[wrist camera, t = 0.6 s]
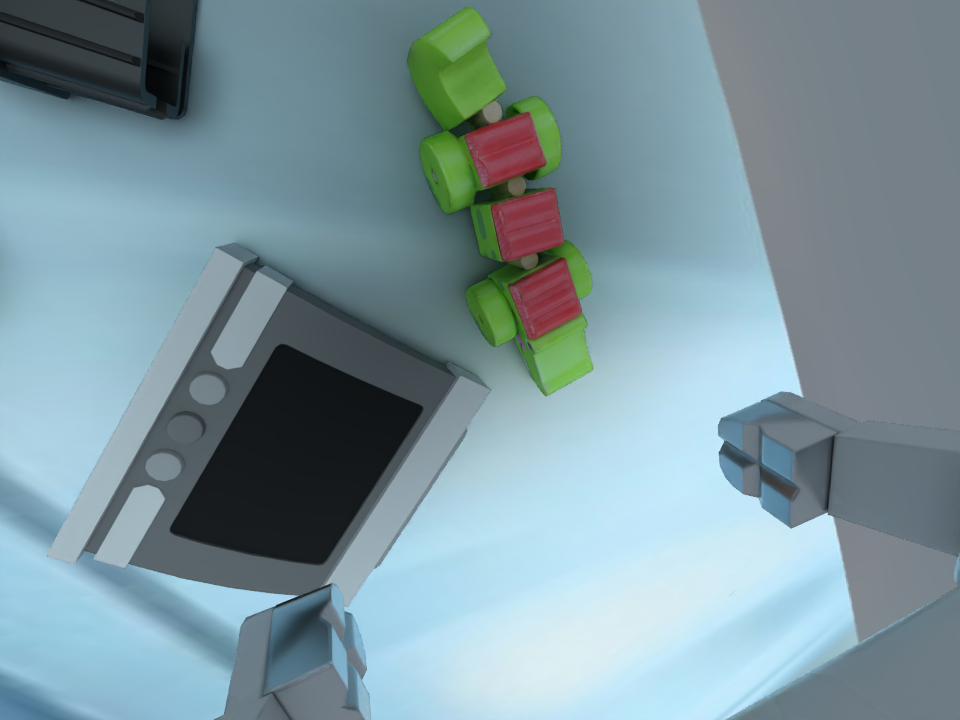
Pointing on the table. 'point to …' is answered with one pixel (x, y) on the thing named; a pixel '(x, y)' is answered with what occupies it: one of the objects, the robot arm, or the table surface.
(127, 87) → the end cap
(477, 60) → the toy crocodile
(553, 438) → the table surface
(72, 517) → the alarm clock
